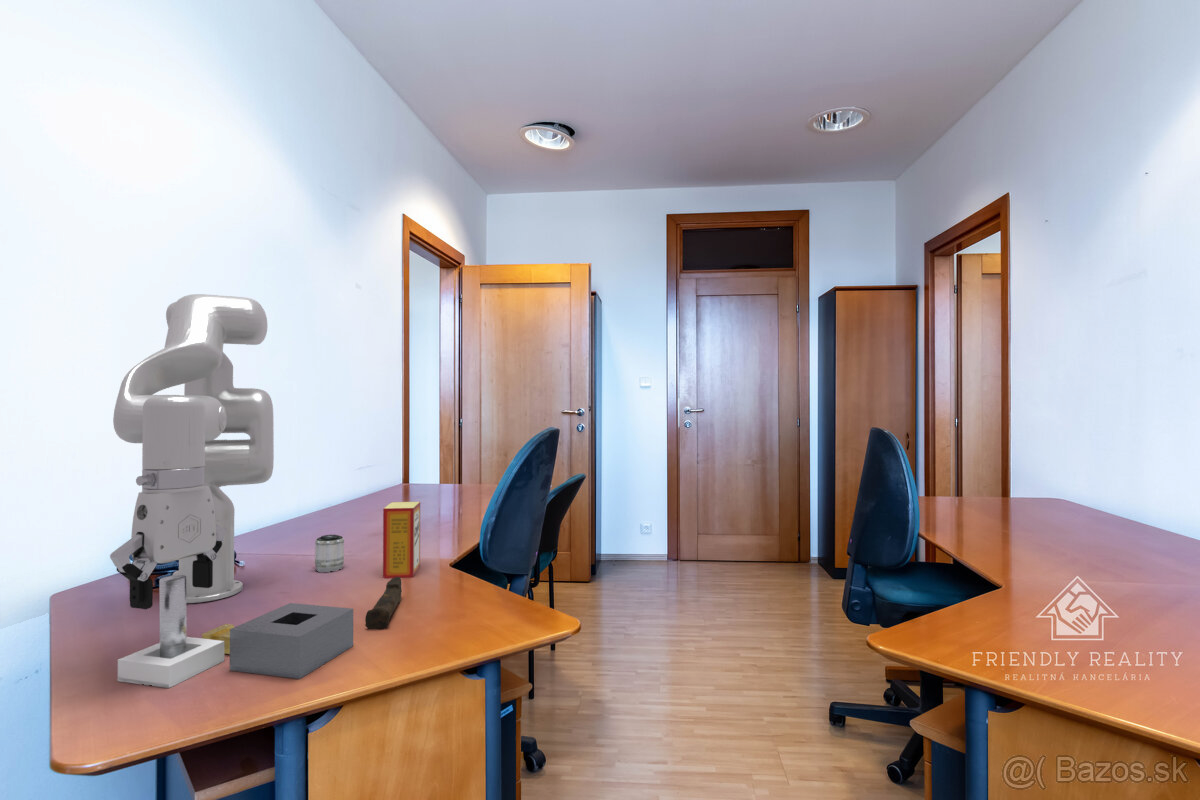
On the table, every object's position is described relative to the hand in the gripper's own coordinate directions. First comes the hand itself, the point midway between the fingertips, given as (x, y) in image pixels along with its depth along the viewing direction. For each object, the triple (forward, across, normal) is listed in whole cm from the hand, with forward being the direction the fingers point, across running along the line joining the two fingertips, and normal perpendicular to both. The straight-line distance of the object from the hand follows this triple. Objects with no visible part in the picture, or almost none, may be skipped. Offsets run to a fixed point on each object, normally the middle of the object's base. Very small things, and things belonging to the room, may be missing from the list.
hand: (173, 596), depth 87 cm
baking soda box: (+11, +54, -4) cm, 55 cm away
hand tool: (+11, +30, -16) cm, 35 cm away
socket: (+11, +8, -14) cm, 19 cm away
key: (+11, +8, -5) cm, 14 cm away
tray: (+11, 0, 0) cm, 11 cm away
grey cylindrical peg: (+10, 0, 0) cm, 10 cm away
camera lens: (+11, +52, +14) cm, 55 cm away
